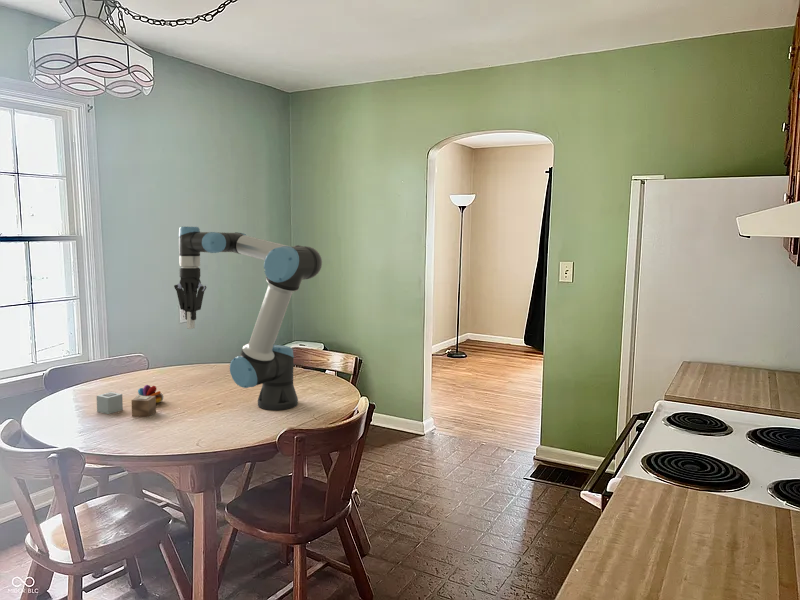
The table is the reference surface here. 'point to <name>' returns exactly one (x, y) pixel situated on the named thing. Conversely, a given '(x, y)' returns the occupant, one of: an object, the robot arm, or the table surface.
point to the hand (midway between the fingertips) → (190, 328)
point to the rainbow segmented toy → (150, 392)
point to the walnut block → (143, 406)
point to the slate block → (109, 403)
